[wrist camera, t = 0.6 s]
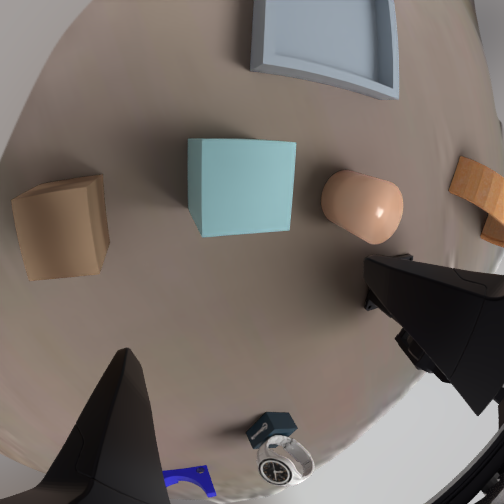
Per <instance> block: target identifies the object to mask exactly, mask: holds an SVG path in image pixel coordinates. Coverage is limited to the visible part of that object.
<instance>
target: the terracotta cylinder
mask: <svg viewBox="0 0 504 504" xmlns="http://www.w3.org/2000/svg"><path fill="white" fill-rule="evenodd" d="M321 206H322V210H323V213H324V215H325V216H326V218H327V219H328V220H330V221H331V222H333V223H335V224H336V225H338V226H340V227H342V228H343V229H345V230H347V231H349V232H351V233H352V234H354V235H356V236H358V237H359V238H361V239H363V240H365V241H366V242H368V243H370V244H380V243H382V242H384V241H386V240H387V239H388V238H390V237H391V236H392V234H393V233H394V232H395V230H396V229H397V227H398V225H399V223H400V220H401V217H402V212H403V199H402V195H401V192H400V190H399V189H398V187H397V186H396V185H395V184H393V183H391V182H388V181H385V180H382V179H379V178H375V177H372V176H368V175H365V174H361V173H357V172H354V171H350V170H342V171H339V172H337V173H335V174H334V175H332V176H331V177H330V178H329V180H328V181H327V182H326V184H325V186H324V189H323V192H322V196H321Z"/></svg>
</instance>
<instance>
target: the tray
mask: <svg viewBox="0 0 504 504" xmlns="http://www.w3.org/2000/svg"><path fill="white" fill-rule="evenodd" d="M250 71H253V72H261V73H268V74H275V75H282V76H288V77H293V78H299V79H304V80H309V81H313V82H318V83H322V84H327V85H331V86H335V87H339V88H342V89H346V90H350V91H353V92H357V93H360V94H363V95H367V96H370V97H373V98H376V99H379V100H399V53H398V36H397V24H396V14H395V6H394V0H254V7H253V24H252V43H251V62H250Z"/></svg>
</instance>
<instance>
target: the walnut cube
mask: <svg viewBox="0 0 504 504" xmlns="http://www.w3.org/2000/svg"><path fill="white" fill-rule="evenodd" d="M11 204H12V210H13V216H14V222H15V227H16V232H17V237H18V241H19V246H20V250H21V254H22V258H23V261H24V265H25V269H26V272H27V276H28V279H29V281H35V280H46V279H56V278H66V277H76V276H86V275H96V274H100V271H101V268H102V265H103V262H104V259H105V256H106V253H107V250H108V247H109V244H110V240H109V233H108V225H107V217H106V208H105V197H104V185H103V174H101V175H94V176H86V177H79V178H73V179H66V180H60V181H54V182H49V183H43V184H40V185H38V186H36V187H34V188H32V189H30V190H28V191H26V192H25V193H23V194H21V195H19V196H17V197H16V198H14V199H12V200H11Z"/></svg>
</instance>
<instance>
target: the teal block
mask: <svg viewBox="0 0 504 504" xmlns="http://www.w3.org/2000/svg"><path fill="white" fill-rule="evenodd" d="M295 156H296V143H295V142H285V141H274V140H261V139H233V138H198V139H188V209H189V212H190V214H191V216H192V218H193V220H194V222H195V224H196V226H197V228H198V230H199V232H200V234H201V236H202V237H214V236H225V235H237V234H250V233H262V232H275V231H289V230H290V220H291V208H292V196H293V184H294V171H295Z"/></svg>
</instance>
